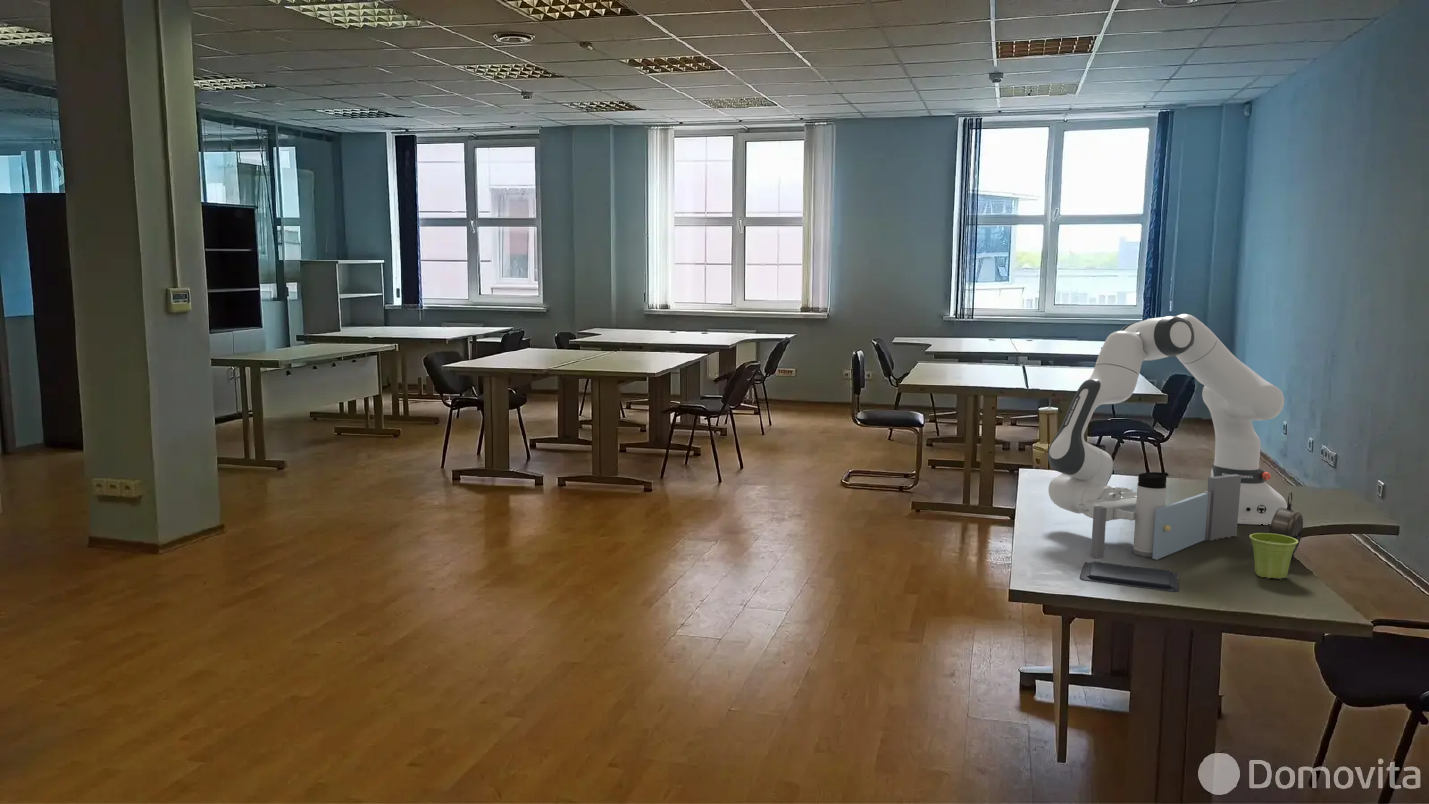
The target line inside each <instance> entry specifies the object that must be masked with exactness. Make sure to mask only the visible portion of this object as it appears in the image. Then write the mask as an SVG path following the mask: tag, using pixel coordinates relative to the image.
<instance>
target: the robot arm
mask: <svg viewBox="0 0 1429 804" xmlns="http://www.w3.org/2000/svg"><path fill="white" fill-rule="evenodd" d="M1168 357H1176V358H1177V359H1178V361H1179V362H1180V363H1181V364H1182V365H1183V366H1184V367H1185V368H1186V369H1187V371H1188V372H1190V374H1191V375H1192V376H1193V377H1194V378H1195V380H1197V382H1199V383H1200V384H1201V385H1204V386H1203V387H1202V392H1201V398H1202V400H1203V403H1204V404H1205V405H1206V406H1207V409H1208V410H1209V413H1210V417H1211V419H1212V420H1211V421H1212V423H1213V429H1214V436H1215V441H1214V442H1215V443H1214V445H1215V447H1214V460H1213V464H1212V466H1211V469H1210V470H1211V472H1210V477H1216V476H1225V475H1233V474H1237V475H1241V485H1240V498H1239V510H1238V522H1237V525H1238V524H1239V525H1257V526H1258V525H1259V526H1260V525H1261V524H1263V525H1264V526H1269V525H1268V524H1271V522H1272V519H1273V516H1274V514H1275V513H1276V511H1277V510H1278V509H1279V508H1280V507H1282V508H1286V509H1287V506H1288V505H1287V504H1288V503H1287V500H1286V499H1285V498H1284V496H1282V495H1281V493H1279V492H1278V491H1277V490H1275V489H1274V488H1273V487H1272V486H1270V485H1269V484H1268V483H1267V481H1269V480H1270V479H1271V478H1272V475H1271V474H1270V472H1268V471H1265V470H1264V469H1262V468H1260V458H1261V448H1262V447H1261V445H1262V444H1261V443H1262V442H1261V439H1260V437H1259V435H1258V434H1257V433H1256V430H1255V428H1254V426H1253V421H1256V422H1257V421H1269V420H1272V419H1275V418H1276V417H1277V416H1278V415H1280V414H1281V413H1282V411H1283V409H1284V405H1285V397H1284V396H1285V395H1284V394H1283V392H1282V390H1281V389H1280V388H1279V387H1278V386H1275V384H1274V385H1273V384H1272V383H1270V382H1269V381H1268V380H1266V379H1264V378H1263V377H1262V376H1260V374H1258V373H1257V372H1255V370H1253V369H1252V368H1251V367H1249V366H1248V365H1246V364H1245V363H1244V362H1242V361H1241V360H1240V359H1238V358H1237V357H1236V356H1235V355H1234V354H1233V353H1232V352H1231V351H1230V350H1229V349H1228V347H1226V345H1225V344H1224V343H1223V342H1222V341H1221V340H1220V339H1219V338H1218V337H1217V335H1216V334H1215V333H1214V332H1213V331H1212V330H1211V329H1210V328H1209V327H1208V326H1206V324H1204V323H1203V321H1201V320H1200V319H1198V318H1197V317H1196V316H1194V315H1191V314H1190V313H1189V314H1187V313H1181V314H1178V315H1175V316H1173V315H1166V316H1163V317H1153V318H1147V319H1144V320H1141V321H1138V322H1131V323H1129V324H1127V325H1125V326H1124V327H1122V328H1121V329H1120V330H1117V331H1113V332H1112V333H1110V334H1109V335H1108V336H1107V337H1106V339H1105V341H1104V342H1103V345H1102V347H1101V349H1100V351H1099V354H1098V356H1097V359H1096V362H1095V366H1094V367H1093V371H1092V374H1091V376H1090V377H1089V378H1088V379H1087V380H1085V381H1083V383H1082V384H1080V386H1079V387H1078V389H1077V391H1076V392H1075V395H1074V397H1073V399H1072V401H1071V403H1070V405H1069V408H1068V410H1067V411H1066V415H1065V417H1064V419H1063V422H1062V423H1061V425H1060V428H1059V430H1058V432H1057V434H1056V435H1055V436H1054V438H1053V439H1052V441H1051V443H1050V445H1049V446H1048V449H1047V459H1048V464H1049V466H1050V467H1051V469H1052V470H1054V471H1055V472H1056V473H1057V472H1058V473H1060V474H1059V475H1058V476H1055V477H1053V478H1052V479H1051V480H1050V482H1049V483H1048V484H1049V485H1048V495H1049V498H1050V500H1051V501H1052V502H1053V504H1055V505H1056V506H1057V507H1059V508H1061V509H1062V510H1066V511H1068V512H1071V513H1075V514H1079V515H1080V514H1083V515H1085V516H1086V517H1087V518H1091V519H1093V512H1094V507H1096V506H1102V507H1105V508H1107V511H1106V522H1109V521H1114V520H1115V521H1116V520H1127V521H1135V520H1136V519H1137V517H1136V516H1137V514H1136V500H1137V491H1136V492H1135V491H1133V488H1129V487H1115V486H1111V485H1108V484H1109V481H1110V480H1111V477H1112V475H1113V472H1114V467H1115V466H1114V460H1113V457H1112V456H1111V454H1110V453H1108V452H1107V451H1105V450H1104V449H1101V448H1099V447H1097V446H1094V445H1093V444H1091V443H1089V442H1087V441H1086V440H1085V433H1086V430H1087V429H1088V428H1087V427H1088V425H1089V423H1090V421H1091V419H1092V416H1093V413H1094V412H1095V410H1096V409H1097V408H1098V407H1099V406H1101V405H1117V404H1120V403H1123V402H1125V401H1127V400H1128V399H1129V398H1130V397H1132V395H1133V394H1134V391H1135V389H1136V387H1137V384H1138V380H1139V376H1140V373H1141V370H1142V363H1143V362H1144V361H1155V360H1161V359H1164V358H1168ZM1263 525H1261V526H1263Z"/></svg>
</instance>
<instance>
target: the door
mask: <svg viewBox="0 0 1429 804" xmlns="http://www.w3.org/2000/svg"><path fill="white" fill-rule="evenodd" d="M1210 501H1211V492H1209V491H1207V490H1205V491H1203V493H1199V494H1197V495H1193V496H1190V497H1187V498H1184V499H1182V500H1179V501H1175V502H1172V503H1169V504H1165V506H1163V507H1160V508H1157V509H1156V515H1155V529H1154V544H1153V557H1151V558H1152V560H1156V561H1157V560H1160V559H1162V558H1164V557H1167V556H1169V555H1171V554H1174V553H1176V552H1179V551H1182V550H1184V549H1186V548H1189V547H1191V546H1194V545H1197V544H1199V543H1201V542H1203V541H1205V542H1206V541H1208V540H1207V539H1208V526H1209V513H1210Z"/></svg>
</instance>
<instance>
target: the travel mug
mask: <svg viewBox="0 0 1429 804" xmlns="http://www.w3.org/2000/svg"><path fill="white" fill-rule="evenodd" d="M1169 476H1170V475H1169V473H1168V472H1165V471H1163V472H1161V471H1151V472H1142V473H1139V474H1138V477H1137V481H1138V482H1137V487H1136V492H1137V500H1136V514H1137V516H1136V517H1137V519H1136V520H1134V531H1133V533H1134V534H1133V544H1132V545H1133V547H1132V552H1133V553H1134V555H1137V556H1138V557H1139V556H1140V557H1145V558H1153V544H1154V529H1155V515H1156V509H1157V508H1160V507H1163V506H1166V497H1167V496H1166V495H1167V494H1166V493H1167V477H1169Z"/></svg>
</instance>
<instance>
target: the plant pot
mask: <svg viewBox="0 0 1429 804" xmlns="http://www.w3.org/2000/svg"><path fill="white" fill-rule="evenodd" d="M1249 539H1250V540H1251V544H1252V549H1253V558H1254V559H1253V560H1254V572H1255V574H1256V576H1258V577H1261V578H1263V577H1268V578H1267V579H1275V578H1284V577H1286V578H1287V577H1288V573H1289V570H1290V564H1291V561H1292V558H1293V557H1292V553H1293V550H1294V549H1295V546H1296V544H1298V540H1297V539H1295V538H1292V537H1289V536H1285V535H1279V534H1271V533H1269V532H1256V533H1255V532H1254V533H1251V534H1249Z"/></svg>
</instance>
